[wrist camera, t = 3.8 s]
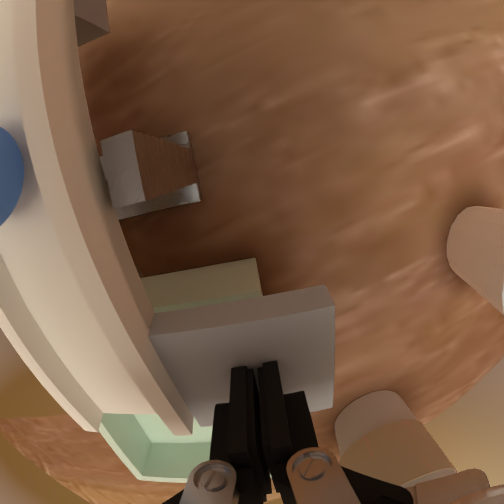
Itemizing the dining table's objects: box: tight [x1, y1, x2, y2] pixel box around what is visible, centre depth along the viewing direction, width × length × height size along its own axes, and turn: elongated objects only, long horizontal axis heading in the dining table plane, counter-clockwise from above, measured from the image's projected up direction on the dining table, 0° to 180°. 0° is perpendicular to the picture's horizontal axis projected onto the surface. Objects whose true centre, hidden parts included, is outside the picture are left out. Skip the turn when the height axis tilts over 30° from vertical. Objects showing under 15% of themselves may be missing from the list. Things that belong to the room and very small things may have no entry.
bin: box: [99, 257, 272, 483], centre depth 18 cm, size 16×13×5 cm
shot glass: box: [447, 206, 504, 315], centre depth 15 cm, size 7×7×7 cm
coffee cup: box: [334, 390, 457, 488], centre depth 15 cm, size 9×9×15 cm
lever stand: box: [100, 130, 202, 220], centre depth 12 cm, size 4×8×10 cm, turn 100°
